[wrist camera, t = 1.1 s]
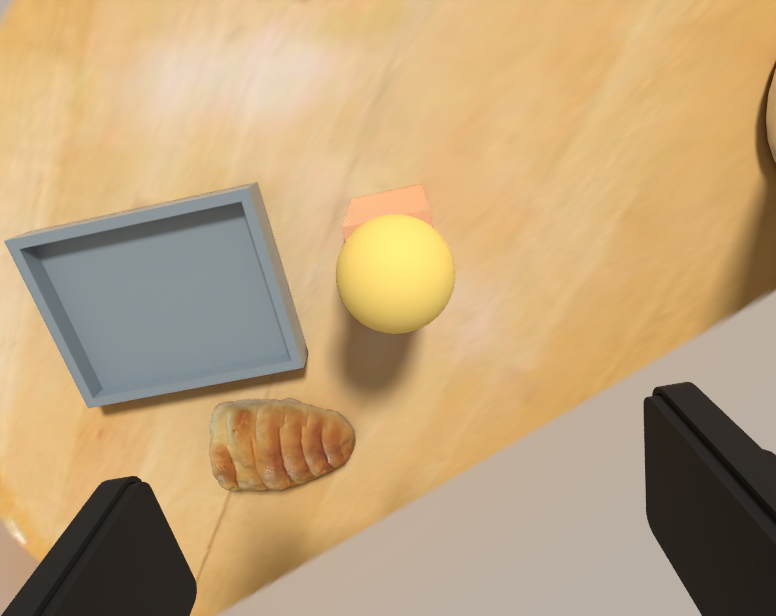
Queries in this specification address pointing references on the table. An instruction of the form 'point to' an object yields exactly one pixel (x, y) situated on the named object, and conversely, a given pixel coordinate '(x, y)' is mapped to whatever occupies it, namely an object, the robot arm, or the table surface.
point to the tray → (164, 296)
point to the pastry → (276, 443)
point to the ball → (395, 274)
